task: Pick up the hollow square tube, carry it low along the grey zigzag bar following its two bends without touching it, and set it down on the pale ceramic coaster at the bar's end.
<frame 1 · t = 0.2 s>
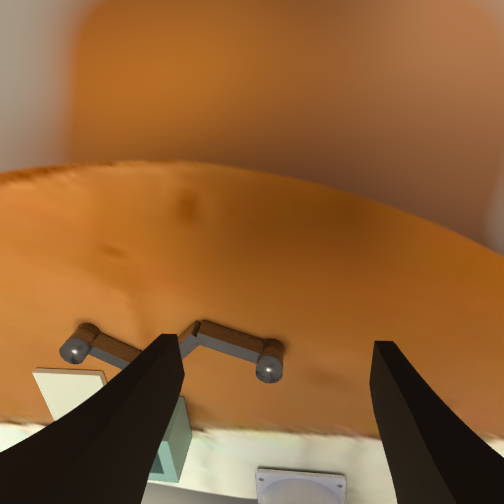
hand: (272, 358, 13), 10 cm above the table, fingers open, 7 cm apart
coaster: (79, 395, 31), on the table
hollow square tube: (160, 415, 31), on the table
grey zigzag bar: (181, 355, 27), on the table
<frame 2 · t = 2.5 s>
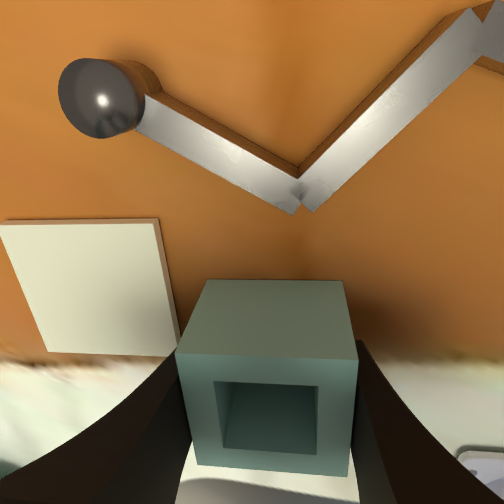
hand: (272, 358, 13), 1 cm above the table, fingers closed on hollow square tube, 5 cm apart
coaster: (100, 288, 14), on the table
hollow square tube: (275, 333, 14), on the table, touching gripper
grey zigzag bar: (367, 153, 11), on the table
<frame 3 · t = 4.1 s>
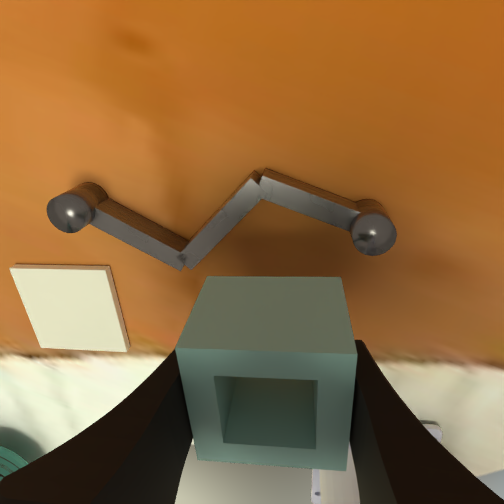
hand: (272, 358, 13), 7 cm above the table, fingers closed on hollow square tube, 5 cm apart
coaster: (75, 307, 22), on the table
beverage bottle: (15, 446, 30), on the table
hollow square tube: (274, 329, 14), point 5 cm above the table, touching gripper
grey zigzag bar: (225, 234, 19), on the table
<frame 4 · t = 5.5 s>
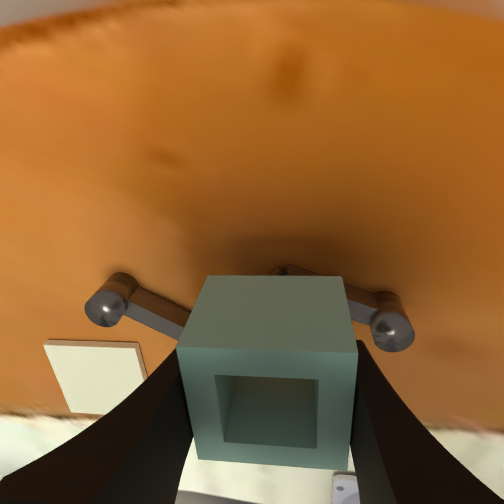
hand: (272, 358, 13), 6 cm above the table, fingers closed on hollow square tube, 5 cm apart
coaster: (104, 376, 23), on the table
hollow square tube: (275, 329, 14), point 4 cm above the table, touching gripper
grey zigzag bar: (250, 318, 20), on the table
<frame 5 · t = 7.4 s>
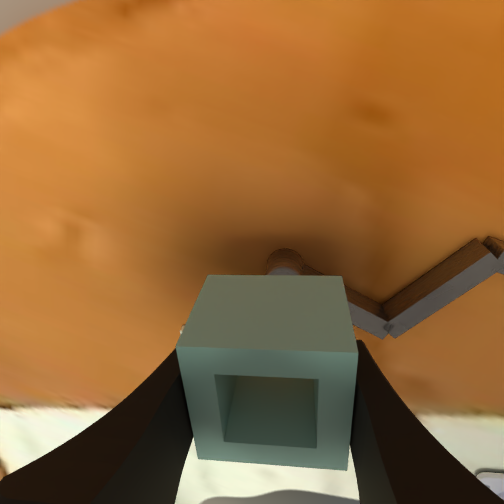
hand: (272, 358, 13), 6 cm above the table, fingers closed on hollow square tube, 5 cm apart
hollow square tube: (275, 328, 14), point 4 cm above the table, touching gripper
grey zigzag bar: (425, 299, 18), on the table
when the fingers open (3 cm above the table, at t = 8.9 s): hollow square tube stays where it is, resting on coaster.
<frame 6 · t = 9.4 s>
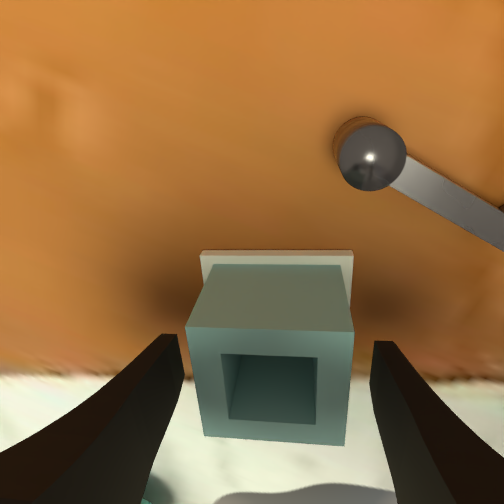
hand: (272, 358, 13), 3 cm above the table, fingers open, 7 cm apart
coaster: (277, 311, 16), on the table
hollow square tube: (276, 315, 15), resting on coaster
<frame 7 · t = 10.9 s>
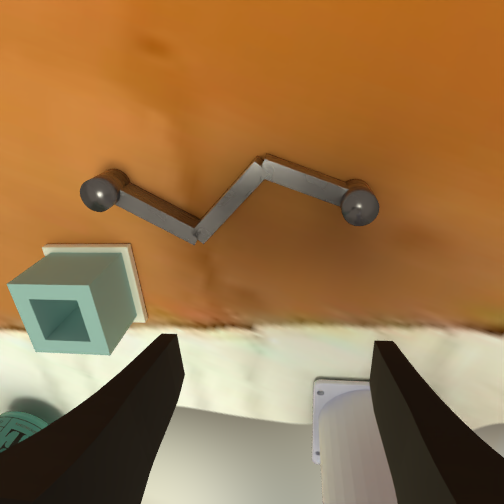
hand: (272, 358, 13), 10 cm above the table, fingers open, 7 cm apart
coaster: (99, 282, 25), on the table
beverage bottle: (41, 417, 33), on the table
hollow square tube: (95, 284, 24), resting on coaster
grey zigzag bar: (233, 213, 21), on the table
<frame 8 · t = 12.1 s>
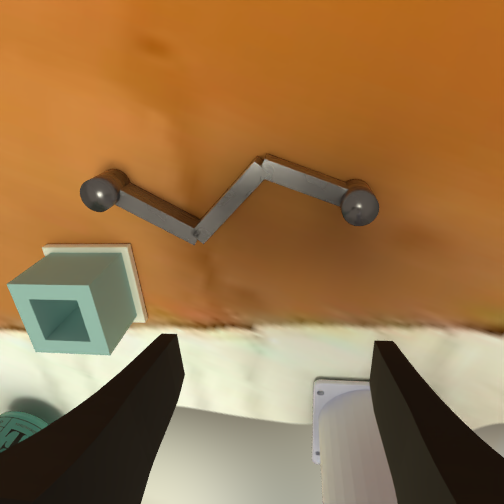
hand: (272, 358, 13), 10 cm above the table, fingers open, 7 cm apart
coaster: (99, 282, 25), on the table
beverage bottle: (41, 417, 33), on the table
hollow square tube: (95, 284, 24), resting on coaster
grey zigzag bar: (233, 213, 21), on the table
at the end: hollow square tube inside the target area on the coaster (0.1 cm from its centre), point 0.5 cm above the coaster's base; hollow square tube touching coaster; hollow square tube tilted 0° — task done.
